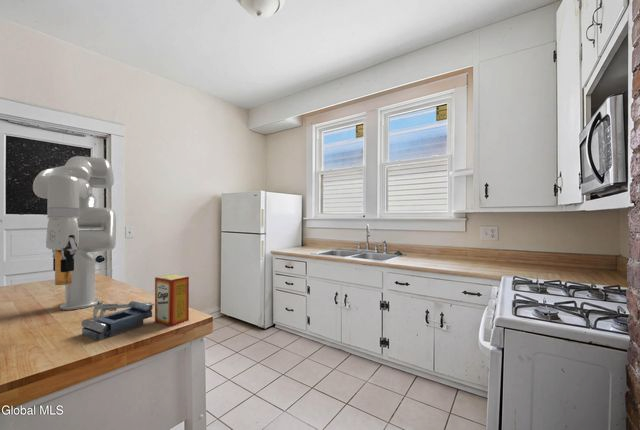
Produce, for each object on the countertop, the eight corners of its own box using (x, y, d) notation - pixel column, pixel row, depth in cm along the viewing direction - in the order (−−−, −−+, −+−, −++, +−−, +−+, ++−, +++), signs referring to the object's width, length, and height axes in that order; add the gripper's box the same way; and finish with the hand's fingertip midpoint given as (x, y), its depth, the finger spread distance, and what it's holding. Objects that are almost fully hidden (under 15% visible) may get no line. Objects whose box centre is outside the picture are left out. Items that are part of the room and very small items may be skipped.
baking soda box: (155, 321, 98) (155, 276, 99) (172, 315, 104) (172, 273, 104) (171, 326, 94) (171, 279, 94) (188, 320, 99) (188, 275, 100)
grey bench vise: (81, 334, 87) (81, 314, 87) (135, 317, 102) (135, 300, 102) (98, 340, 83) (98, 319, 83) (152, 322, 98) (152, 303, 98)
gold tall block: (52, 284, 88) (52, 246, 88) (68, 281, 92) (68, 245, 92) (58, 285, 87) (58, 247, 87) (74, 283, 90) (74, 246, 90)
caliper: (94, 319, 101) (94, 302, 101) (93, 319, 102) (93, 301, 102) (154, 305, 117) (154, 290, 117) (153, 305, 118) (153, 290, 118)
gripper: (36, 213, 89) (36, 270, 90) (61, 214, 82) (61, 275, 82) (65, 213, 96) (65, 266, 96) (91, 214, 89) (91, 271, 89)
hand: (63, 270), depth 89 cm, fingers closed on gold tall block, 4 cm apart
